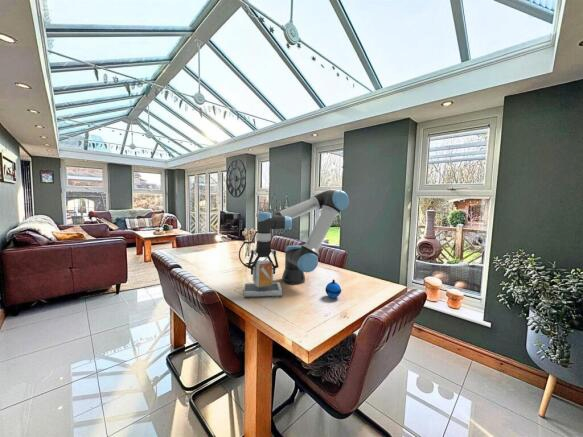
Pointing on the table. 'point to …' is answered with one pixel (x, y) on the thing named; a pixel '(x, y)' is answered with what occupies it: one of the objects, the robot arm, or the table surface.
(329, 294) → the ornament
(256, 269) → the small box
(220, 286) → the table surface
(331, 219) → the robot arm
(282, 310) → the table surface
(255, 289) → the grey rectangular tray
